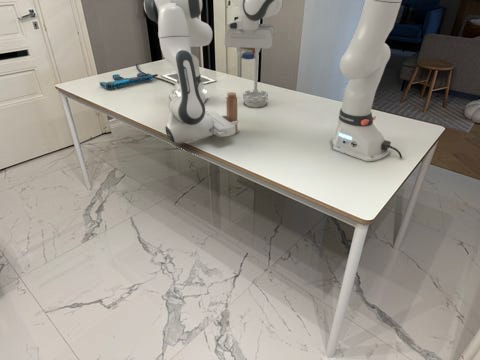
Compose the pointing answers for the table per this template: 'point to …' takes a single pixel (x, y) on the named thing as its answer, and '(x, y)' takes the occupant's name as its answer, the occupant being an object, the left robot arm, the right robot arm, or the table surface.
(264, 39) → the right robot arm
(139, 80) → the submachine gun
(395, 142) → the table surface
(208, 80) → the tablet
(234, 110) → the jar
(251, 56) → the lid
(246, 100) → the flag stand
